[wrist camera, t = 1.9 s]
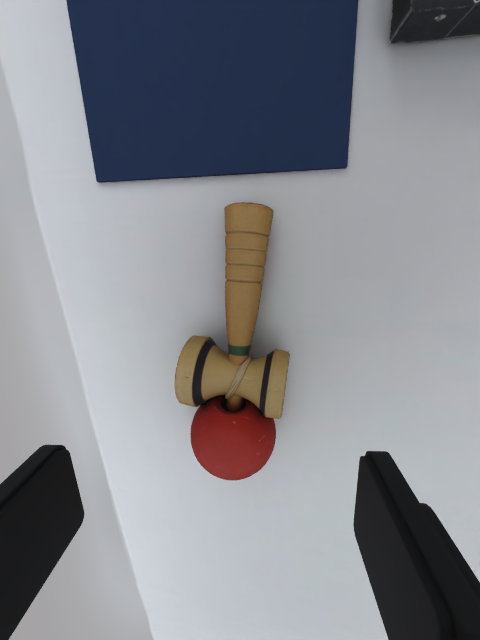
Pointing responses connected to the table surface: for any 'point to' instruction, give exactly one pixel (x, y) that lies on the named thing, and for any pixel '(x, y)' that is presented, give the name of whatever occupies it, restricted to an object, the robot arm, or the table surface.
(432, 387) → the table surface
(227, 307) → the kendama
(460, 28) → the disk drive
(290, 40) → the napkin
